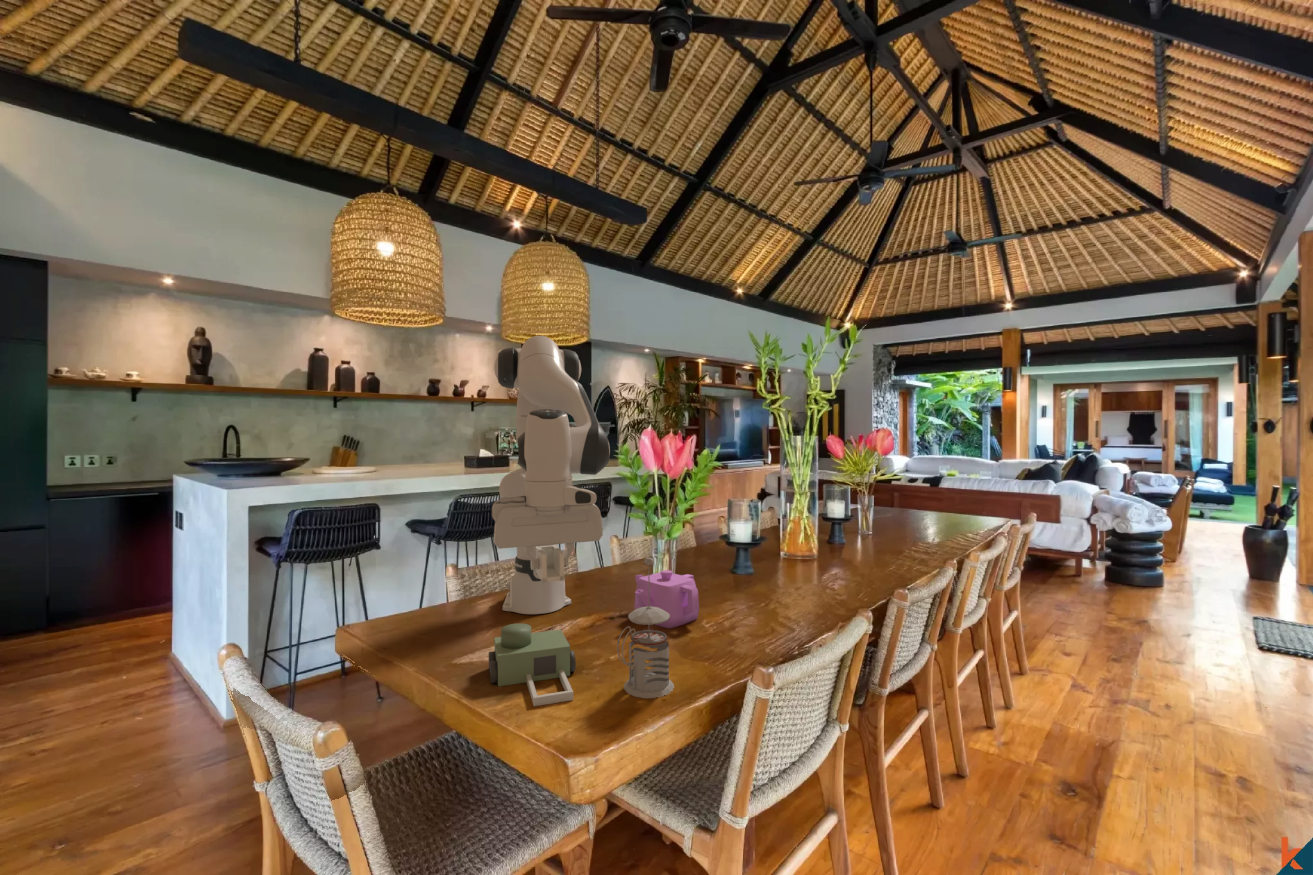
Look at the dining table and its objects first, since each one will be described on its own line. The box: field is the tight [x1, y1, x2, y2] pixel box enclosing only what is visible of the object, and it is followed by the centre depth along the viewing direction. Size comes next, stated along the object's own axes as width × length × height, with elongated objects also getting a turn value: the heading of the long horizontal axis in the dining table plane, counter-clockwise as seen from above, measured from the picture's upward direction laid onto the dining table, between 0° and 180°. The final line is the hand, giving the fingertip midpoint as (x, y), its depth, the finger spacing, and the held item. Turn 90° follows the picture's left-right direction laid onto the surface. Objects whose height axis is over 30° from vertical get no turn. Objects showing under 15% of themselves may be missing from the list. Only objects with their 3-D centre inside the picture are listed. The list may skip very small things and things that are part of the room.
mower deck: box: [488, 623, 577, 707], centre depth 112 cm, size 20×16×9 cm
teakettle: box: [633, 569, 700, 629], centre depth 150 cm, size 17×17×12 cm
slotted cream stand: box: [536, 544, 565, 583], centre depth 108 cm, size 8×4×5 cm, turn 20°
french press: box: [616, 557, 675, 699], centre depth 110 cm, size 10×12×25 cm
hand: (549, 567), depth 108 cm, fingers closed on slotted cream stand, 4 cm apart
